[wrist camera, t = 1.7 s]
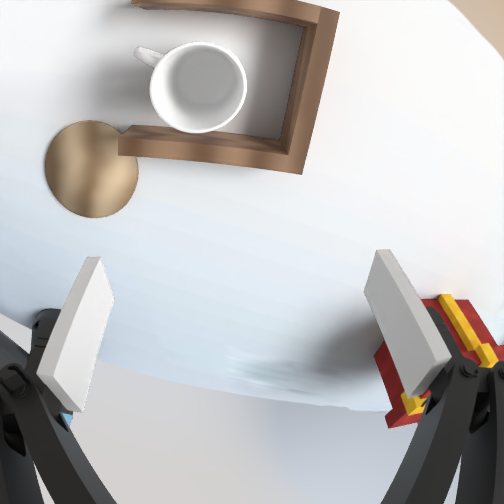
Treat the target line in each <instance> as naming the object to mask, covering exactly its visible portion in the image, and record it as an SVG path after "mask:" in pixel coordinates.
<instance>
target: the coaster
mask: <svg viewBox="0 0 504 504" xmlns="http://www.w3.org/2000/svg"><path fill="white" fill-rule="evenodd" d="M121 135H122V134H121V133H120V132H119V131H117V130H116V129H115V128H113V127H111V126H109V125H107V124H105V123H102V122H97V121H82V122H78V123H75V124H72V125H70V126H69V127H67V128H65V129H64V130H63V131H61V132H60V133H59V134H58V135H57V136H56V137H55V138H54V140H53V141H52V143H51V145H50V147H49V149H48V152H47V156H46V163H45V171H46V177H47V181H48V184H49V187H50V189H51V191H52V192H53V194H54V196H55V197H56V198H57V200H58V201H59V202H60V203H61V204H62V205H63V206H64V207H65V208H67V209H68V210H70V211H71V212H73V213H75V214H78V215H80V216H84V217H88V218H102V217H107V216H110V215H112V214H114V213H116V212H118V211H119V210H121V209H122V208H123V207H124V206H125V205H126V204H127V203H128V201H129V200H130V198H131V197H132V195H133V193H134V191H135V188H136V185H137V181H138V164H137V159H136V156H118V138H119V137H120V136H121Z"/></svg>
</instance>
